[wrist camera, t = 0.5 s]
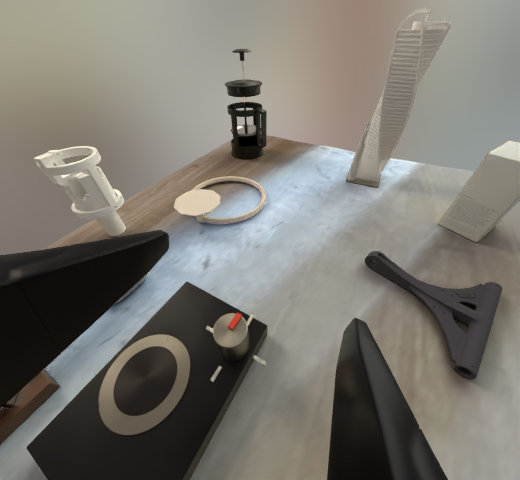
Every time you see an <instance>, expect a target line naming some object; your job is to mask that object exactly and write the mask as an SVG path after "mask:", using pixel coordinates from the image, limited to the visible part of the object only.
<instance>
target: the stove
mask: <svg viewBox="0 0 520 480" xmlns="http://www.w3.org/2000/svg"><path fill="white" fill-rule="evenodd" d="M229 313H235V314H236V313H239V314H241V315H242V317H243V318H244V319H245V320H246V322H247V325H248V332H249V340H250V347H249V351H248V353H247V354H246V356H245V357H244V358H242V359H241V360H239V361H235V362H231V361H227V360H225V359H224V358H223V357H222V356H221V354H220V352H219V350H218V347H217V345H216V343H215V340H214V338H213V327H214V325H215V323H216V321H217V320H218V319H219V318H220V317H222V316H223V315H225V314H229ZM253 317H254V315H252V314H251V316H249V315H247V314H245V313H243V312H242V311H240V310H238V309H236V308H234V307H232V306H231V305H229V304H227V303H225V302H223V301H222V300H220V299H218V298H216V297H214V296H212V295H211V294H209V293H207V292H205V291H203V290H201V289H200V288H198V287H196V286H194V285H192V284H191V283H189V282H186V283H185V284H184V285H183V286H182V287H181V288H180V289H179V290H178V291H177V292H176V293H175V294H174V295H173V296H172V297H171V298H170V299H169V300H168V301H167V303H166V304H165V305H164V306H163V307H162V308H161V309H160V310H159V311H158V312H157V313H156V314H155V315H154V316H153V317H152V318H151V319H150V320H149V321H148V322H147V323H146V324H145V325H144V326H143V327H142V328H141V329H140V330H139V331H138V333H137V334H136V335H135V336H134V337H133V338H132V339H131V340H130V341H129V342H128V343H127V344H126V345H125V346H124V347H123V348H122V349H121V350H120V351H119V352H118V353H117V354H116V355H115V356H114V357H113V358H112V359H111V360H110V361H109V363H108V364H107V365H106V366H105V367H104V368H103V369H102V370H101V371H100V372H99V373H98V374H97V375H96V376H95V377H94V378H93V379H92V380H91V381H90V382H89V383H88V384H87V385H86V386H85V387H84V388H83V389H82V390H81V391H80V393H79V394H78V395H77V396H76V397H75V398H74V399H73V400H72V401H71V402H70V403H69V404H68V405H67V406H66V407H65V408H64V409H63V410H62V411H61V412H60V413H59V414H58V415H57V416H56V417H55V418H54V419H53V420H52V421H51V423H50V424H49V425H48V426H47V427H46V428H45V429H44V430H43V431H42V432H41V433H40V434H39V435H38V436H37V437H36V438H35V439H34V440H33V441H32V442H31V443H30V444H29V445H28V446H27V450H28V451H29V452H30V454H31V455H32V457H33V458H34V460H35V461H36V463H37V464H38V466H39V467H40V469H41V470H42V472H43V473H44V475H45V476H46V478H47V479H48V480H189V479H190V477H191V476H192V474H193V472H194V470H195V468H196V466H197V464H198V463H199V461H200V459H201V457H202V455H203V453H204V451H205V450H206V448H207V446H208V444H209V442H210V440H211V438H212V436H213V435H214V433H215V431H216V429H217V427H218V425H219V423H220V422H221V420H222V418H223V416H224V414H225V412H226V410H227V409H228V407H229V405H230V403H231V401H232V399H233V397H234V396H235V394H236V392H237V390H238V388H239V386H240V384H241V383H242V381H243V379H244V377H245V375H246V373H247V371H248V369H249V368H250V366H251V364H252V362H253V360H256V361H257V362H259V363H260V364H262V365H264V366H265V365H266V363H267V362H265V361H264V360H262V359H260V358H259V357H257V356H256V355H257V353H258V351H259V349H260V347H261V345H262V343H263V342H264V340H265V338H266V336H267V325H265V324H264V323H262V322H260V321H258V320H256V319H254V318H253ZM159 334H162V335H169V336H172V337H175V338H176V339H178V340H179V341H180V342H182V344H183V345H184V346H185V348H186V349H187V352H188V354H189V358H190V377H189V381H188V385H187V387H186V390H185V392H184V394H183V397H182V398H181V400H180V402H179V403H178V405H177V406H176V407H175V409H174V410H173V411H172V412H171V414H170V415H169V416H168V417H167V418H166V419H164V420H163V421H162V422H161V423H160V424H158V425H157V426H155V427H154V428H152V429H150V430H148V431H146V432H143V433H140V434H136V435H121V434H117V433H115V432H113V431H111V430H110V429H109V428H108V427H106V425H105V424H104V422H103V421H102V418H101V416H100V412H99V405H98V404H99V393H100V389H101V385H102V383H103V380H104V378H105V376H106V374H107V372H108V370H109V368H110V367H111V365H112V364H113V363H114V361H115V360H116V359H117V358H118V356H119V355H120V354H121V353H122V352H123V351H124V350H126V349H127V348H128V347H129V346H131V345H132V344H134V343H135V342H137V341H139V340H141V339H143V338H145V337H148V336H152V335H159Z"/></svg>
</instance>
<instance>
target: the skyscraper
mask: <svg viewBox="0 0 520 480" xmlns="http://www.w3.org/2000/svg"><path fill="white" fill-rule="evenodd" d="M419 12H426V13H427V15H426V17H425V19H424V21H419V22H414V23H413V26H412V29H410V30H399V29H400V27H401V26H402V24H403V23H404V22H405V21H406V20H407V18H409V17H410V16H412V15H413V14H416V13H419ZM430 12H431V11H430V9H429V8H419V9H416V10H414V11H412V12H411V13H409V14H408V15H407V16H406V17H405V18H404V19H403V21H402V22H401V23H400V25H399V26H398V28H397V30H396V33H395V38H394V42H393V47H392V52H391V56H390V60H389V65H388V69H387V75H386V79H385V85H384V90H383V93H382V96H381V98H380V100H379V102H378V105H377V107H376V110H375V113H374V115H373V118H372V121H371V123H370V126H369V129H368V131H367V128H368V125H369V122H367V125H366V129H365V131H364V132H363V136H362V138H361V142H360V143H359V144H358V146H357V150H356V153H355V156H354V160H353V163H352V164H351V168H350V171H349V175H348V177H347V180H346V182H351V183H356V184H362V185H367V186H372V187H377V188H378V186H379V180H380V174H381V172H382V171H383V169H384V167H385V165H386V164H387V162H388V160H389V159H390V157H391V155H392V153H393V151H394V149H395V147H396V146H397V144H398V141H399V139H400V137H401V135H402V133H403V130H404V128H405V126H406V123H407V121H408V118H409V115H410V112H411V109H412V106H413V102H414V99H415V94H416V90H417V86H418V84H419V82H420V80H421V79H422V77H423V75H424V73H425V71H426V70H427V68H428V66H429V65H430V63H431V61H432V59H433V58H434V56H435V54H436V52H437V50H438V49H439V47H440V45H441V43H442V41H443V40H444V37H445V36H446V34H447V32H448V30H449V29H450V26H451V23H450V22H449V21H435V22H434V21H426V20H427V18H428V16H429V15H430ZM436 25H445V26H447V29H432V26H436ZM367 132H368V133H367ZM366 135H367V136H366ZM365 138H366V139H365ZM364 141H365V143H364Z"/></svg>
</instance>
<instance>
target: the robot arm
mask: <svg viewBox="0 0 520 480" xmlns="http://www.w3.org/2000/svg"><path fill="white" fill-rule="evenodd" d="M168 249H169V235H168V233H166V232H164V231H162V230H157V231H151V232H145V233H139V234H134V235H128V236H122V237H116V238H110V239H105V240H99V241H93V242H87V243H81V244H75V245H71V246H64V247H58V248H52V249H45V250H39V251H31V252H24V253H16V254H8V255H0V409H1V408H2V407H3V406H4V405H5V404H6V403H7V402H8V401H10V400H11V399H12V398H13V397H14V396H15V395H16V394H17V393H18V392H19V391H20V390H21V389H23V388H24V387H25V386H26V385H27V384H28V383H29V382H30V381H31V380H32V379H33V378H35V377H36V376H37V375H38V374H39V373H40V372H41V371H42V370H43V369H44V368H45V367H46V366H48V365H49V364H50V363H51V362H52V361H53V360H54V359H55V358H56V357H57V356H58V355H60V354H61V352H63V351H64V350H65V349H66V348H67V347H68V346H69V345H70V344H71V343H72V342H73V341H75V340H76V339H77V338H78V337H79V336H80V335H81V334H82V333H83V332H84V331H85V330H87V329H88V328H89V327H90V326H91V325H92V324H93V323H94V322H95V321H96V320H97V319H99V318H100V317H101V316H102V315H103V314H104V313H105V312H106V311H107V310H108V309H109V308H110V307H112V306H113V305H114V304H115V303H116V302H117V301H118V300H119V299H120V298H121V297H122V296H124V295H125V294H126V293H127V292H128V291H129V290H130V289H131V288H132V287H133V286H134V285H135V284H137V283H138V282H139V281H140V280H141V279H142V278H143V277H144V276H145V275H146V274H147V273H148V272H149V271H150V270H151V269H152V268H153V267H154V265H155V264H156V263H157V262H158V261H159V260H160V259H161V258H162V256H163V255H164V254H165V253H166V252H167V251H168ZM327 480H448V479H447V477H446V475H445V473H444V472H443V470H442V468H441V466H440V464H439V462H438V461H437V459H436V457H435V455H434V453H433V451H432V449H431V448H430V446H429V444H428V442H427V440H426V438H425V436H424V434H423V432H422V430H421V429H419V425H418V423H417V421H416V419H415V417H414V415H413V413H412V411H411V409H410V407H409V405H408V403H407V401H406V400H405V398H404V396H403V394H402V392H401V390H400V388H399V386H398V384H397V382H396V380H395V378H394V376H393V374H392V372H391V370H390V369H389V367H388V365H387V363H386V361H385V359H384V357H383V355H382V353H381V351H380V349H379V347H378V345H377V343H376V341H375V340H374V338H373V336H372V334H371V332H370V330H369V328H368V326H367V324H366V323H365V322H364V321H362V320H359V319H357V318H354V319H353V320H352V321H351V323H350V324H349V325H348V326H347V328H346V329H345V331H344V334H343V339H342V344H341V348H340V353H339V358H338V363H337V369H336V377H335V389H334V401H333V414H332V426H331V438H330V450H329V463H328V475H327Z"/></svg>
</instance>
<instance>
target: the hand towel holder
mask: <svg viewBox="0 0 520 480" xmlns="http://www.w3.org/2000/svg"><path fill="white" fill-rule="evenodd" d="M228 181H235V182H243V183H247V184H250V185H252V186H254V187H256V188H257V189H259V191H260V192H261V195H262V199H261V203H260V204H259V206H258V207H257V208H255V209H254V210H253V211H251V212H249V213H246V214H244V215H241V216H237V217H233V218H222V219H221V218H210V217H208V216H207V215H206V214H208V213H210V212H211V211H213V210H214V209H215V208H216V207H217V206H218V205H219V204H220V195H218V194H217V193H215V192H214V191H213V190H204V189H202V188H204V187H206V186H208V185H211V184H214V183H219V182H228ZM266 199H267V196H266V193H265V190H264V189H263V188H262V187H261V185H259V184H258V183H256V182H255V181H252V180H250V179H247V178H242V177H231V176H230V177H219V178H214V179H211V180H208V181H205V182H203V183H201V184H199V185H197V186H196V187H195V188H193V189H192V190H191V191H189V192H186V193H184V194H183V195H181V196H180V197H178V198H177V199H176V201H175V205H174V208H175V209H176V210H177V211H178V212H179V213H181V214H183V215H188V216H194V217H196V218H197V219H196V220H197V221H198V222H200V223H205V222H208V223H214V224H230V223H236V222H240V221H244V220H246V219H248V218H251V217H253V216H254V215H256V214H257V213H258V212H259V211H260V210H261V209H262V208H263V206H264V205H265V203H266Z"/></svg>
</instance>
